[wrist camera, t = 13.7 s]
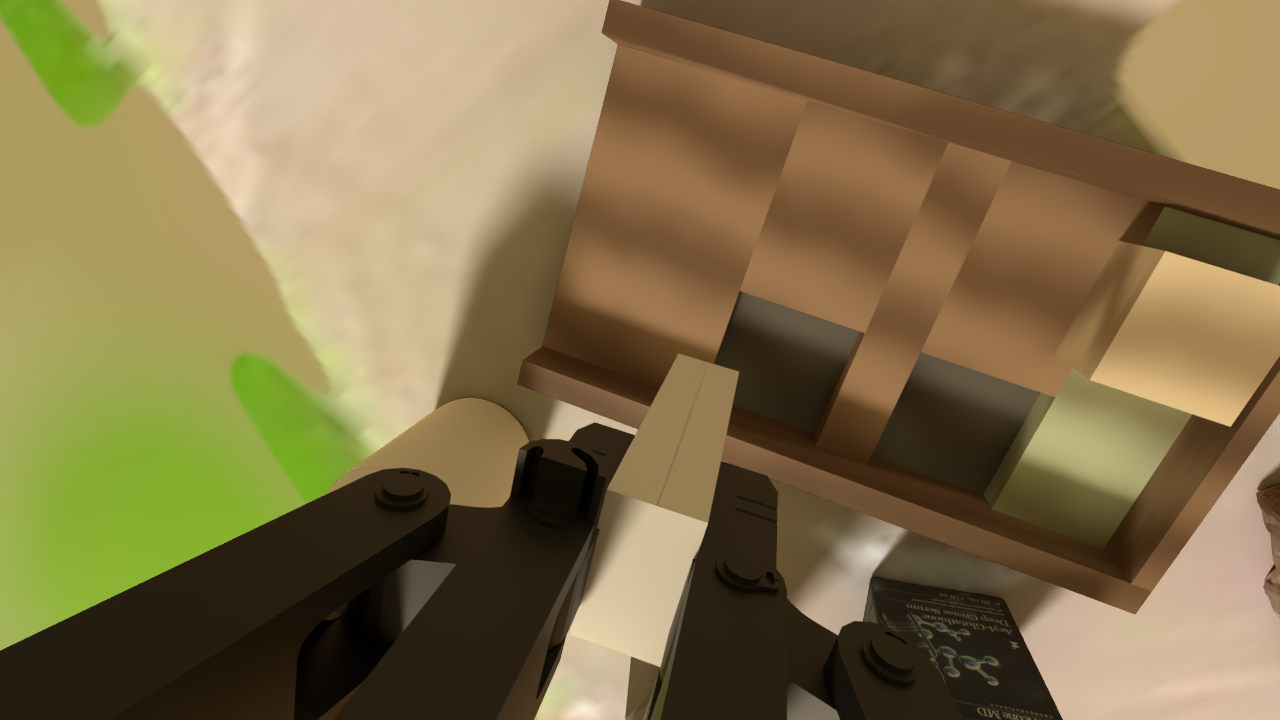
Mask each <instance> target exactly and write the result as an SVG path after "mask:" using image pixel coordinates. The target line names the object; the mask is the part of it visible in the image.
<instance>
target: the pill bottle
mask: <svg viewBox="0 0 1280 720" xmlns="http://www.w3.org/2000/svg"><path fill="white" fill-rule="evenodd" d="M527 443H529V440H528V437H527V435H526V433H525V431H524V429H523V428H522V426H521V425H520V423H519V422H518V421H517V420H516V418H515V417H514V416H513V415H511V414H510V413H509V412H508V411H507V410H505V409H504V408H502V407H501V406H499V405H497V404H495V403H493V402H490V401H487V400H483V399H478V398H462V399H457V400H454V401H451V402H449V403H447V404H445V405H443V406H441V407H439V408H438V409H436V410H435V411H433V412H432V413H431V414H429V415H428V416H426V417H425V418H423V419H422V420H421V421H419V422H418V423H416V424H415V425H414V426H412V427H411V428H409V429H408V430H406V431H405V432H404V433H402V434H401V435H399V436H398V437H396V438H395V439H394V440H392V441H391V442H389V443H388V444H387V445H385V446H384V447H382V448H381V449H379V450H378V451H377V452H375V453H374V454H372V455H371V456H369V457H368V458H367V459H365V460H364V461H362V462H361V463H360V464H358V465H357V466H355V467H354V468H352V469H351V470H350V471H348V472H347V473H345V474H344V475H343V476H342V477H340V478H339V479H338V480H337V481H336V482H335V483H334V484H333V485H332V487H331V488H330V490H329V491H328V493H330V492H332V491H335V490H337V489H339V488H341V487H343V486H345V485H347V484H349V483H351V482H353V481H355V480H357V479H360V478H362V477H364V476H366V475H368V474H371V473H374V472H377V471H380V470H383V469H393V468H411V469H417V470H422V471H425V472H427V473H430V474H433V475H436V476H437V477H438V478H440V479H441V480H442V481H443V482H445V483H446V484H447V486H448V488H449V490H450V493H451V500H450V504H455V505H463V506H471V507H485V508H492V507H502V506H503V505H504V504H505V502H506V501H507V500H508V499H509V497H510V494H511V488H512V483H513V478H514V473H515V468H516V462H517V457H518V452H519V449H520V448H521V447H523V446H524V445H526V444H527ZM328 493H327V494H328Z"/></svg>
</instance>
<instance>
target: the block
mask: <svg viewBox="0 0 1280 720" xmlns="http://www.w3.org/2000/svg"><path fill="white" fill-rule="evenodd" d="M1055 356H1056V357H1058V358H1059V359H1061V360H1062V361H1063V362H1065V363H1066V364H1068V365H1069V366H1071V367H1072V368H1073V369H1075V370H1076V371H1078V372H1079V373H1081V374H1082V375H1083V376H1085V377H1086V378H1088V379H1089V380H1091V381H1094V382H1097V383H1100V384H1103V385H1106V386H1109V387H1112V388H1115V389H1118V390H1121V391H1124V392H1127V393H1130V394H1133V395H1136V396H1139V397H1142V398H1145V399H1148V400H1151V401H1154V402H1157V403H1160V404H1163V405H1166V406H1169V407H1172V408H1175V409H1178V410H1181V411H1184V412H1187V413H1190V414H1193V415H1196V416H1199V417H1202V418H1205V419H1208V420H1211V421H1214V422H1217V423H1220V424H1223V425H1226V426H1229V427H1231V426H1232V424H1233V423H1234V421H1235V420H1236V418H1237V417H1238V415H1239V414H1240V413H1241V411H1242V410H1243V408H1244V407H1245V405H1246V404H1247V402H1248V401H1249V400H1250V398H1251V397H1252V395H1253V394H1254V392H1255V391H1256V389H1257V388H1258V387H1259V385H1260V384H1261V382H1262V381H1263V379H1264V378H1265V376H1266V375H1267V374H1268V372H1269V371H1270V369H1271V368H1272V366H1273V365H1274V363H1275V362H1276V361H1277V359H1278V358H1279V356H1280V286H1278V285H1275V284H1272V283H1269V282H1265V281H1262V280H1259V279H1256V278H1252V277H1249V276H1246V275H1242V274H1239V273H1236V272H1233V271H1229V270H1226V269H1223V268H1220V267H1216V266H1213V265H1210V264H1206V263H1203V262H1200V261H1197V260H1193V259H1190V258H1187V257H1183V256H1180V255H1177V254H1174V253H1170V252H1167V251H1163V250H1159V249H1154V248H1150V247H1145V246H1141V245H1136V244H1131V243H1127V242H1122V241H1118V242H1117V244H1116V246H1115V247H1114V249H1113V251H1112V253H1111V255H1110V256H1109V258H1108V260H1107V262H1106V264H1105V265H1104V267H1103V269H1102V271H1101V273H1100V274H1099V276H1098V278H1097V280H1096V281H1095V283H1094V285H1093V287H1092V289H1091V290H1090V292H1089V294H1088V296H1087V298H1086V299H1085V301H1084V303H1083V305H1082V307H1081V308H1080V310H1079V312H1078V314H1077V316H1076V317H1075V319H1074V321H1073V323H1072V324H1071V326H1070V328H1069V330H1068V332H1067V333H1066V335H1065V337H1064V339H1063V341H1062V342H1061V344H1060V346H1059V348H1058V350H1057V351H1056V353H1055Z"/></svg>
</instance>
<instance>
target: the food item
mask: <svg viewBox="0 0 1280 720" xmlns="http://www.w3.org/2000/svg"><path fill="white" fill-rule="evenodd" d="M1256 495H1257V501H1258V504H1259V506H1260V508H1261V510H1262V514H1263V519H1264V523H1265V526H1266V528H1267V530H1268V532H1269V533H1270V536H1271V547H1272V555H1273V559H1274V563H1275V566H1276V568H1275V569H1274V570H1273V571H1272V572H1271V573H1270V574H1269V575H1268V577H1267V578H1266V579H1265V584H1264V587H1263V588H1264V590H1265V593H1266V594H1267V595H1268V596H1269V599H1270V601H1271V604H1272V607H1273V610H1274V611H1275V612H1276V613H1277V614H1278V615H1279V616H1280V484H1279V485H1276V486H1272V487H1269V488H1265V489H1263V490H1261V491H1259V492H1257V493H1256Z"/></svg>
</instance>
